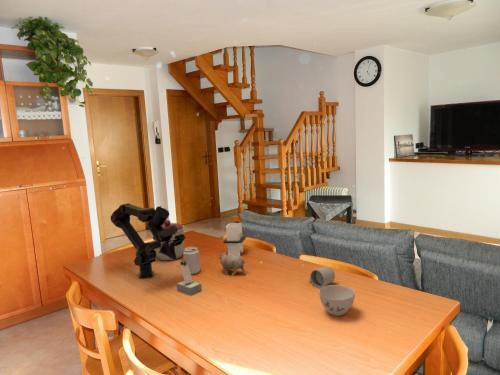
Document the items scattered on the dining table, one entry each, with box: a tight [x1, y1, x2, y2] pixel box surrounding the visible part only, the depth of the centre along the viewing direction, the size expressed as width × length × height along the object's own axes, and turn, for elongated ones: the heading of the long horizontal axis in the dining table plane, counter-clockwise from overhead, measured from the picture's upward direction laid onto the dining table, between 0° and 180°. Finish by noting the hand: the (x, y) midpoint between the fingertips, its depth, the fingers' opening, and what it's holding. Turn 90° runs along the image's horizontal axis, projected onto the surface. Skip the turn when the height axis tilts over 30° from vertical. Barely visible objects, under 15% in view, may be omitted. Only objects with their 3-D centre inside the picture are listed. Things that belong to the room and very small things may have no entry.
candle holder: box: [222, 222, 247, 256], centre depth 212 cm, size 25×24×16 cm
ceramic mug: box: [308, 266, 336, 289], centre depth 165 cm, size 11×8×8 cm
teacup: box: [318, 284, 356, 317], centre depth 140 cm, size 15×12×8 cm
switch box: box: [176, 280, 203, 296], centre depth 166 cm, size 9×6×3 cm, turn 49°
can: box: [182, 246, 201, 275], centre depth 187 cm, size 8×8×12 cm
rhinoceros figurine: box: [218, 252, 247, 277], centre depth 183 cm, size 8×14×15 cm
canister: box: [153, 219, 185, 261], centre depth 211 cm, size 18×18×21 cm
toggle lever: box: [179, 260, 194, 284], centre depth 165 cm, size 3×3×10 cm
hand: (175, 259), depth 169 cm, fingers closed
